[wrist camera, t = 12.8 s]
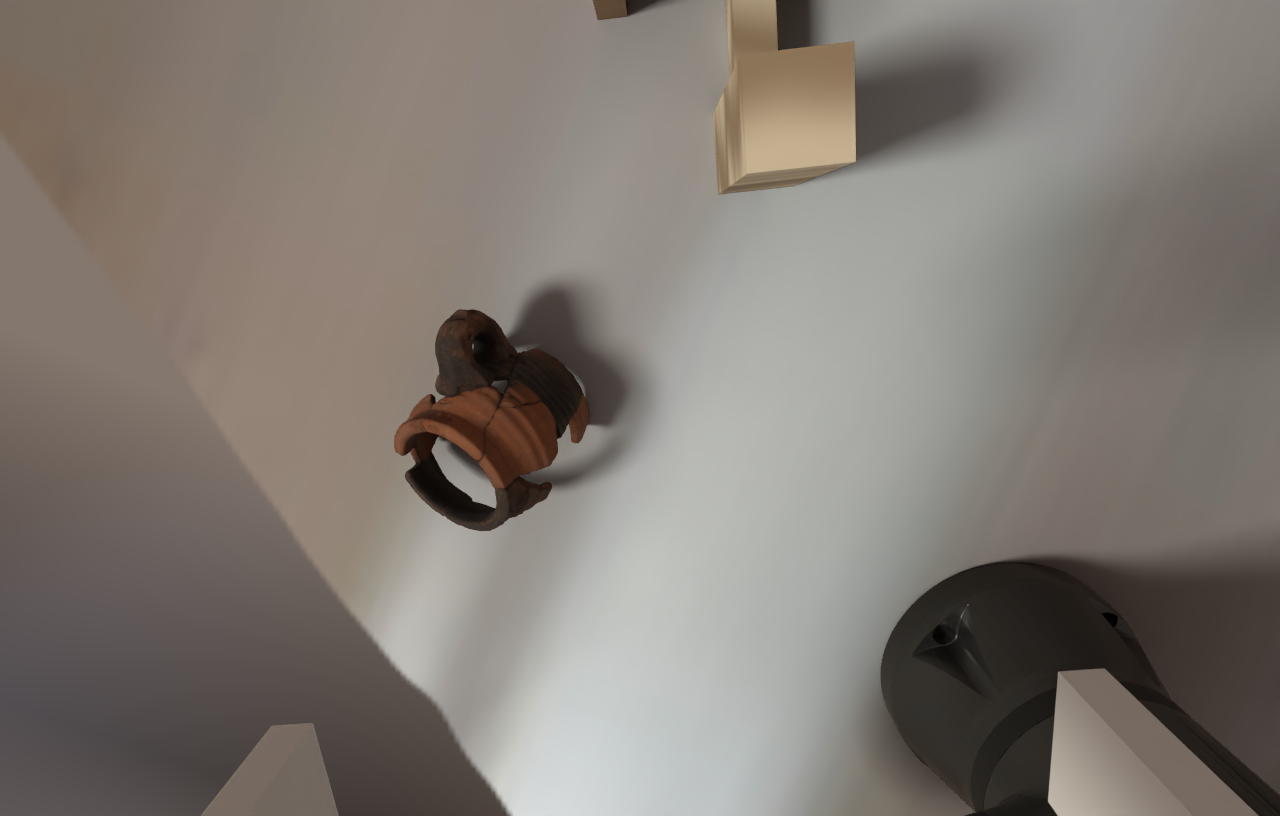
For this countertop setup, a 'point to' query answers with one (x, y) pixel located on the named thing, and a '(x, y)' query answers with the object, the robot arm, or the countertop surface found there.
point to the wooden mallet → (781, 106)
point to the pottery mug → (490, 420)
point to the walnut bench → (610, 8)
